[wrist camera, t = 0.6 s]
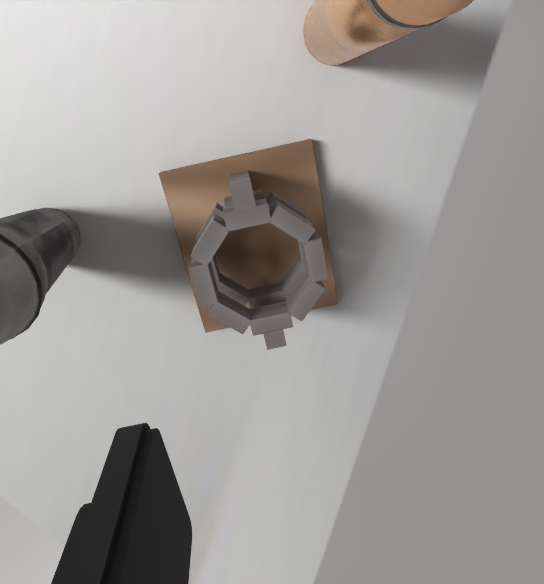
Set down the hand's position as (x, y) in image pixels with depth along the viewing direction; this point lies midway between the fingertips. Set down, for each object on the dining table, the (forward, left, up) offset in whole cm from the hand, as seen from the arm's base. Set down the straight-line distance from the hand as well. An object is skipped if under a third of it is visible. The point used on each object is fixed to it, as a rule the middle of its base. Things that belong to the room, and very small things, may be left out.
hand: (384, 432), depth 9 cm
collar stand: (+3, -2, -29) cm, 30 cm away
